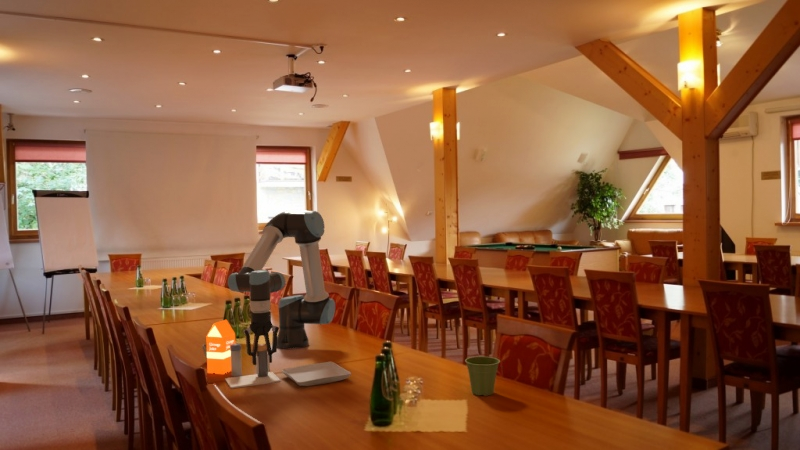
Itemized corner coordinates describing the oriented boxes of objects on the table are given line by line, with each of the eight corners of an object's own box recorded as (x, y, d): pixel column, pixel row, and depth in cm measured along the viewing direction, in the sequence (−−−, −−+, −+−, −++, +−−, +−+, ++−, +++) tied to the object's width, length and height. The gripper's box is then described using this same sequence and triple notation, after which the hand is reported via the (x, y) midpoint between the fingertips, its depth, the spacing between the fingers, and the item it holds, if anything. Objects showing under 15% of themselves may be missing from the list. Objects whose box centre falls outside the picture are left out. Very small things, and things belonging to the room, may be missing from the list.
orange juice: (236, 368, 254) (235, 319, 253) (223, 374, 245) (222, 323, 245) (220, 367, 256) (218, 319, 256) (206, 373, 248) (205, 323, 247)
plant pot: (492, 400, 205) (491, 366, 204) (459, 395, 211) (458, 362, 210) (506, 390, 215) (505, 358, 214) (474, 386, 221) (473, 354, 220)
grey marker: (240, 373, 246) (239, 343, 246) (242, 375, 242) (241, 345, 242) (230, 374, 244) (229, 344, 244) (232, 377, 241) (231, 346, 240)
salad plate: (298, 391, 222) (297, 381, 222) (280, 377, 240) (280, 368, 240) (353, 382, 231) (352, 372, 231) (331, 369, 250) (331, 361, 250)
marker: (266, 374, 242) (265, 343, 242) (269, 376, 238) (268, 345, 238) (256, 375, 240) (255, 344, 240) (258, 377, 237) (257, 346, 236)
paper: (272, 373, 245) (272, 372, 245) (280, 381, 233) (280, 380, 233) (225, 379, 237) (225, 378, 237) (230, 388, 225) (230, 387, 225)
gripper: (240, 314, 232) (242, 377, 232) (284, 310, 239) (286, 371, 239) (236, 311, 238) (238, 372, 239) (279, 307, 245) (281, 367, 246)
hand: (262, 372), depth 239 cm, fingers closed on marker, 3 cm apart
